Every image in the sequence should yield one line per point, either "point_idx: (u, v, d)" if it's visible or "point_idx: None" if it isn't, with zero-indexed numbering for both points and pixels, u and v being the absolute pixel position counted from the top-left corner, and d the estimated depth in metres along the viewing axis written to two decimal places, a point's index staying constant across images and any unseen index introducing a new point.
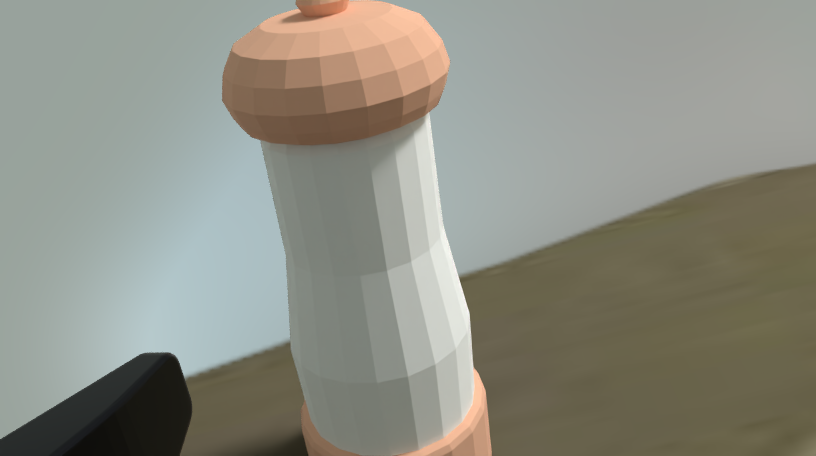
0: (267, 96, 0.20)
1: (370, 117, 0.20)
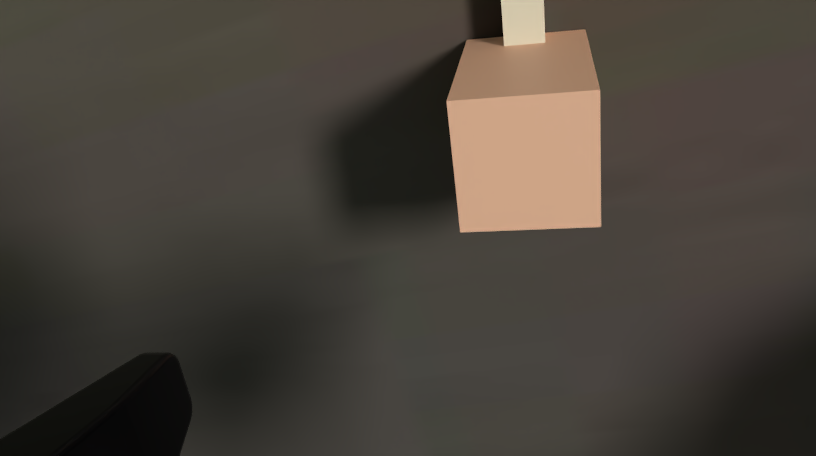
0: None
1: None
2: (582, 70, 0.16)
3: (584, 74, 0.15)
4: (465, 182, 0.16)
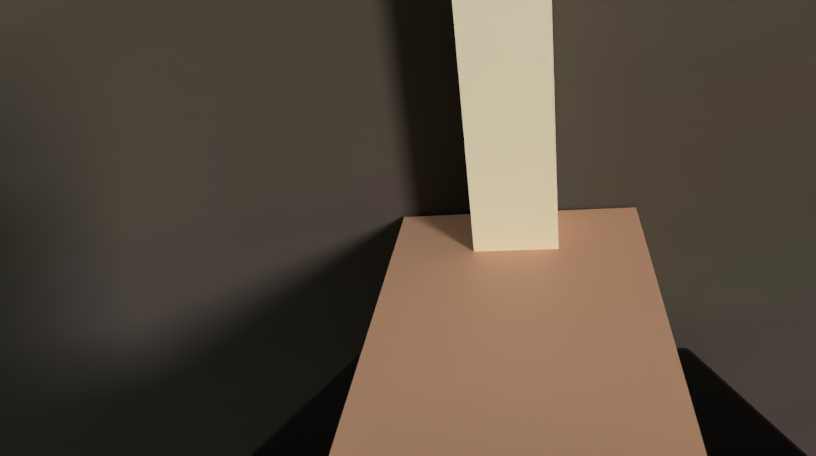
0: None
1: None
2: (658, 396, 0.06)
3: (666, 422, 0.06)
4: None
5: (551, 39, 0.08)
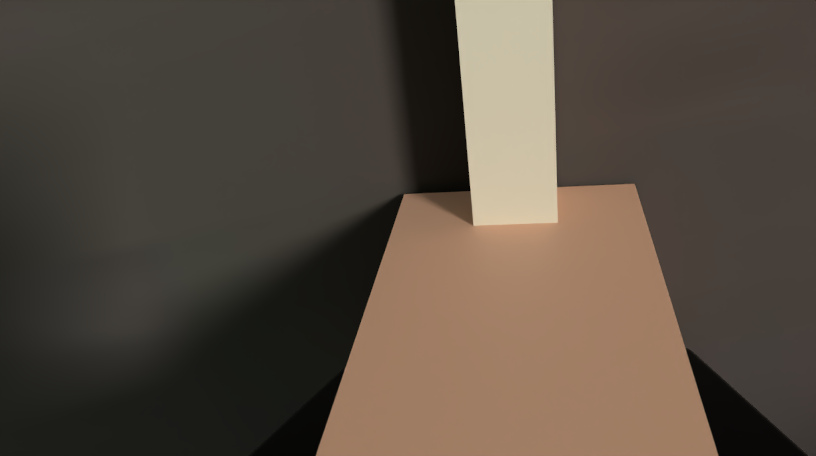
0: None
1: None
2: (657, 357, 0.06)
3: (665, 380, 0.06)
4: None
5: (551, 10, 0.08)
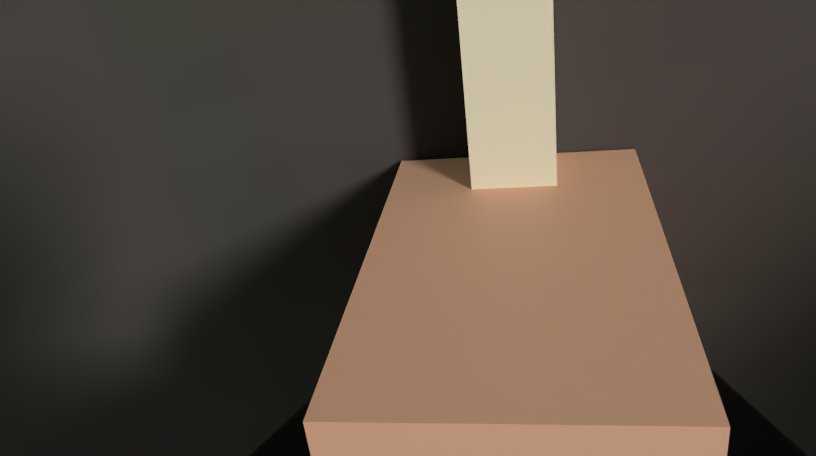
0: None
1: None
2: (657, 309, 0.06)
3: (665, 332, 0.06)
4: None
5: None
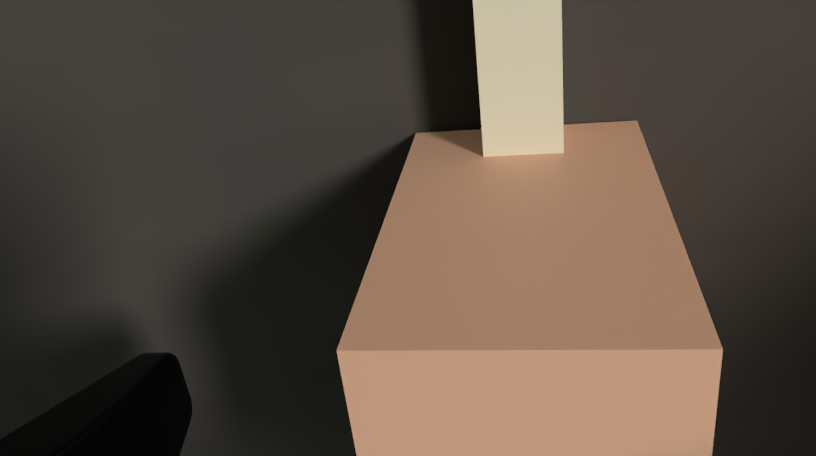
0: None
1: None
2: (658, 256, 0.07)
3: (665, 274, 0.07)
4: None
5: None
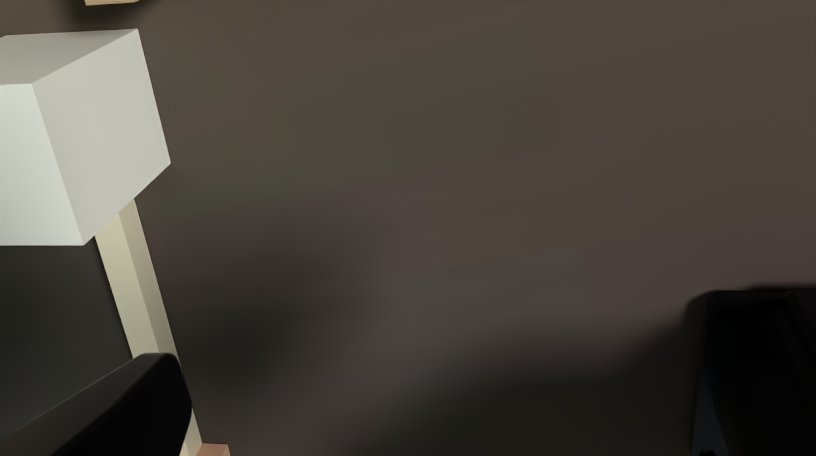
0: None
1: None
2: None
3: None
4: None
5: None
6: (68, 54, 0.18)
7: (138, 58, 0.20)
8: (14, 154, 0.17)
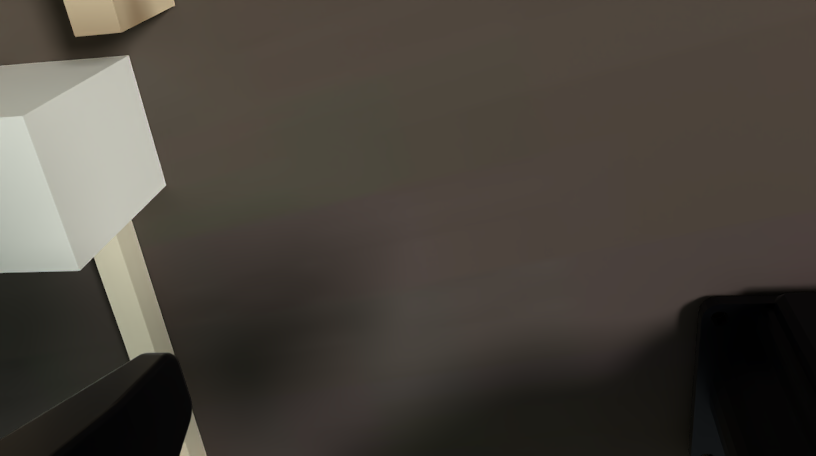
0: None
1: None
2: None
3: None
4: None
5: None
6: (60, 84, 0.19)
7: (130, 84, 0.21)
8: (9, 184, 0.17)
